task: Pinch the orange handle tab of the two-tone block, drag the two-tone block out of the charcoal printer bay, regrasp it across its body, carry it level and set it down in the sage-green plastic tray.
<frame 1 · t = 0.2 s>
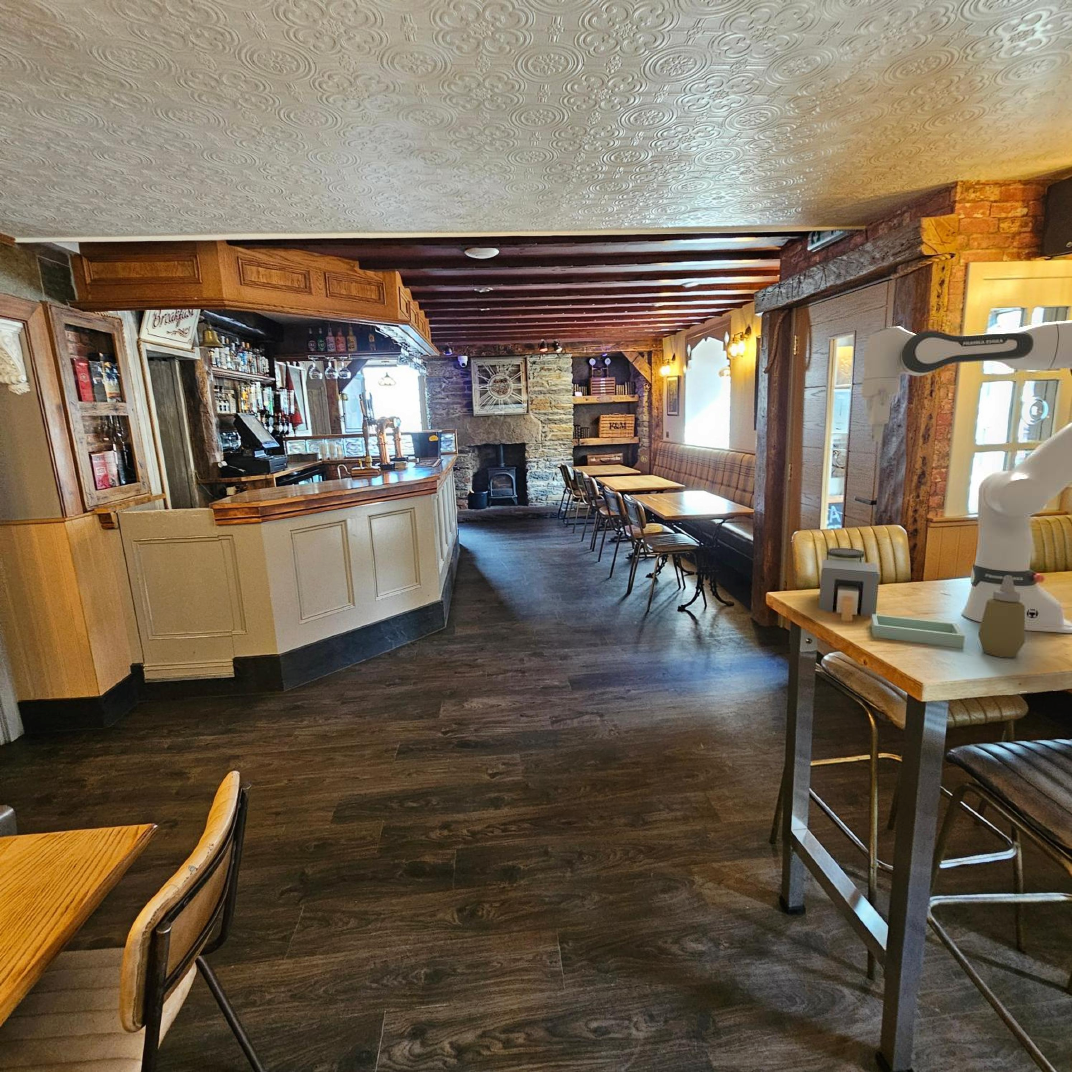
hand: (876, 441, 157), 47 cm above the table, fingers open, 8 cm apart
two-tone block: (846, 610, 160), on the table
tray: (914, 635, 139), on the table
printer bay: (846, 607, 163), on the table
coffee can: (842, 596, 176), on the table
squeeze bottle: (998, 654, 127), on the table
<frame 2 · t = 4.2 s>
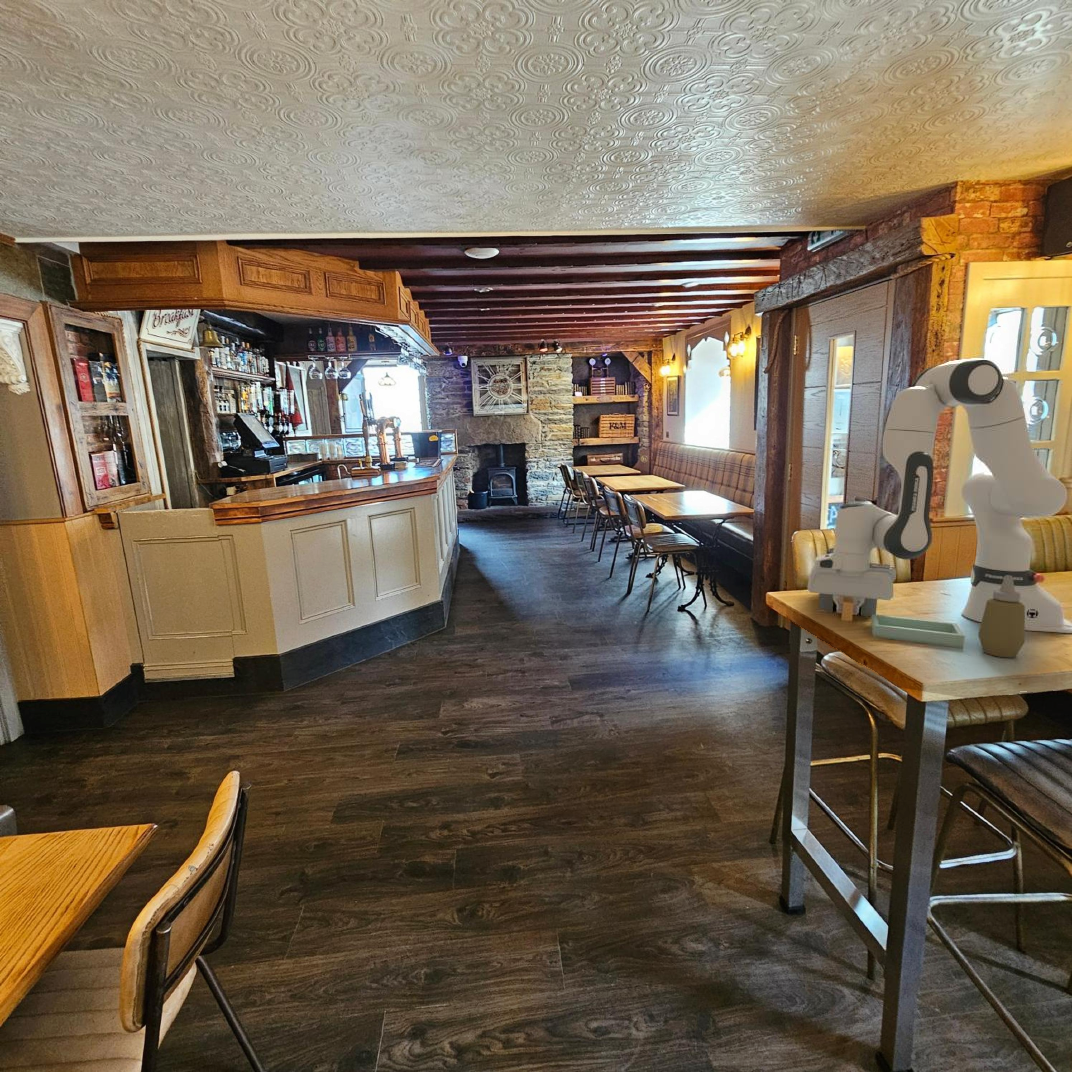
hand: (847, 611, 153), 2 cm above the table, fingers closed on two-tone block, 2 cm apart
two-tone block: (846, 610, 160), on the table, touching gripper
everything else where it was.
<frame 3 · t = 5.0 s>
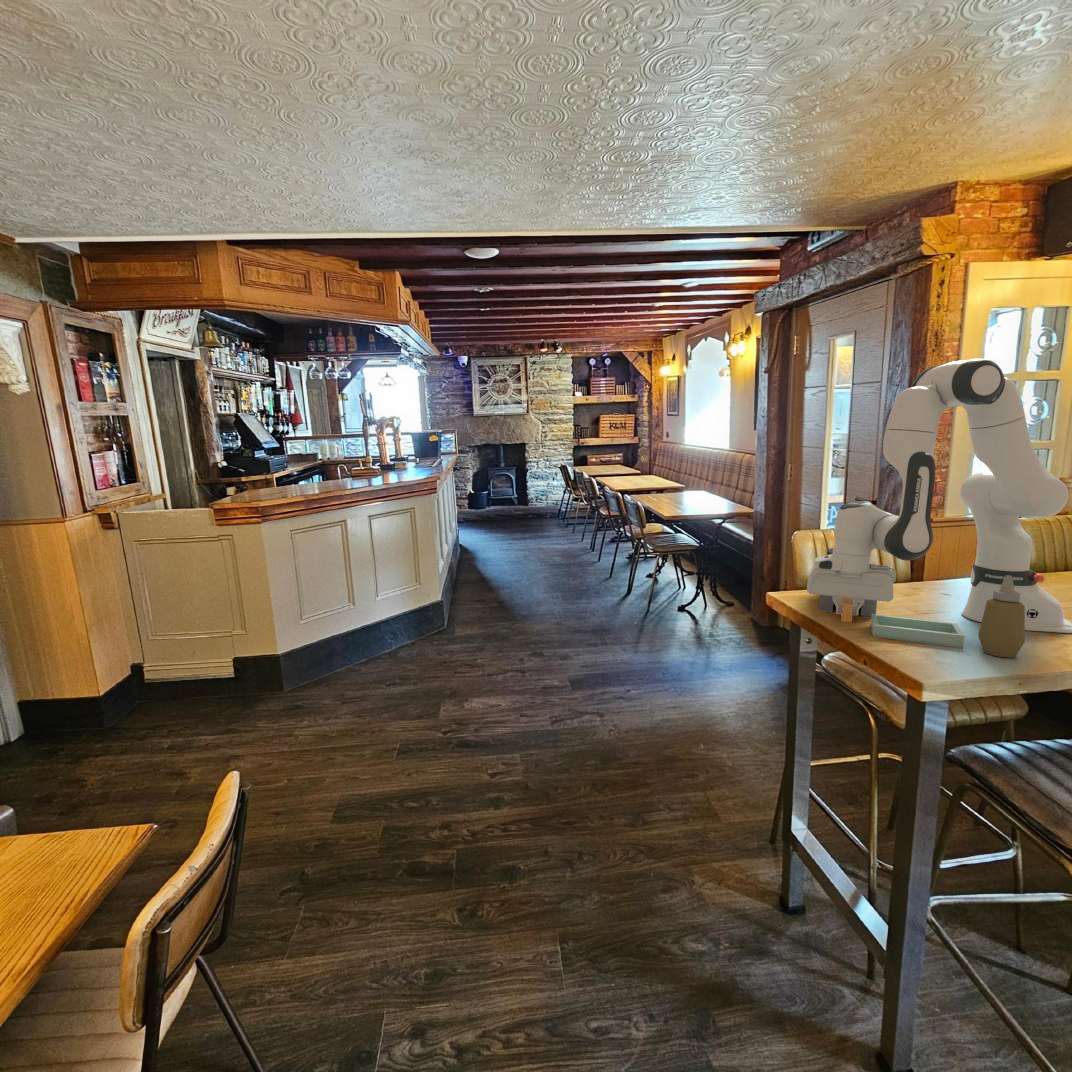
hand: (846, 613, 152), 2 cm above the table, fingers closed on two-tone block, 2 cm apart
two-tone block: (846, 611, 159), on the table, touching gripper
everything else where it was.
when the fingers open (2 cm above the table, at t = 6.7 s): two-tone block stays where it is, on the table.
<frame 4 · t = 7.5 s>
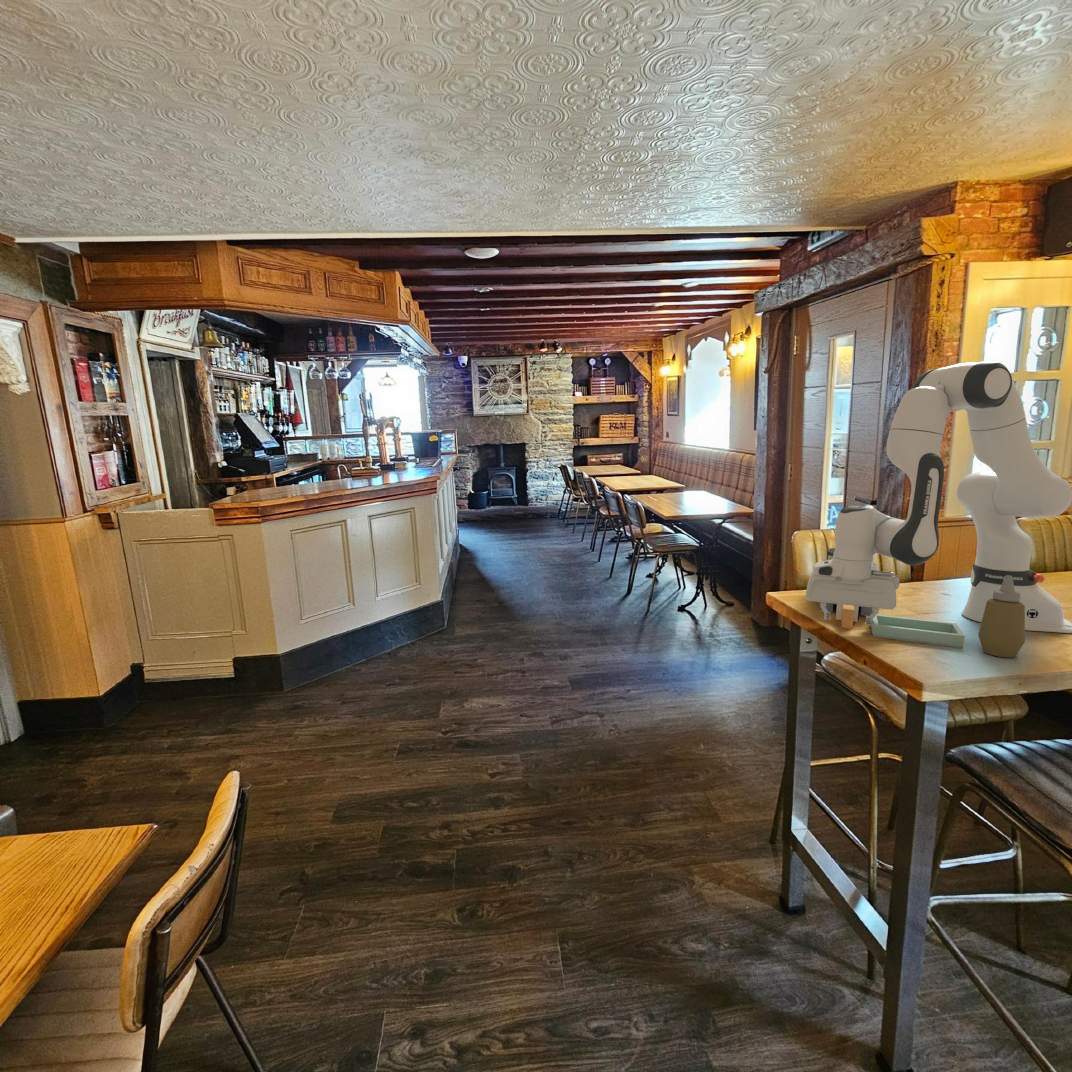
hand: (847, 621, 145), 2 cm above the table, fingers open, 8 cm apart
two-tone block: (846, 617, 154), on the table
everything else where it was.
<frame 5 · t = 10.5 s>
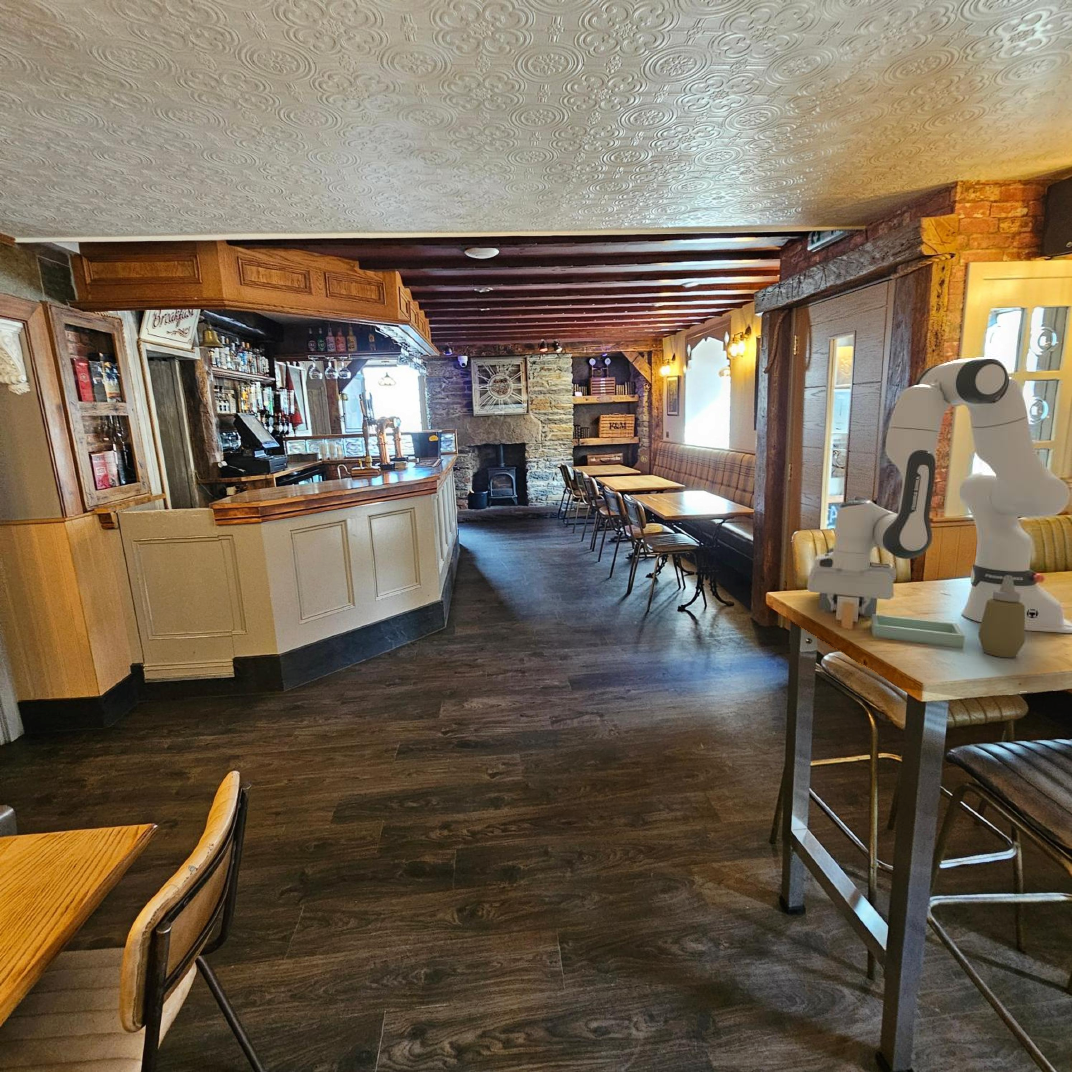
hand: (847, 611, 152), 2 cm above the table, fingers closed on two-tone block, 5 cm apart
two-tone block: (846, 617, 154), on the table, touching gripper
everything else where it was.
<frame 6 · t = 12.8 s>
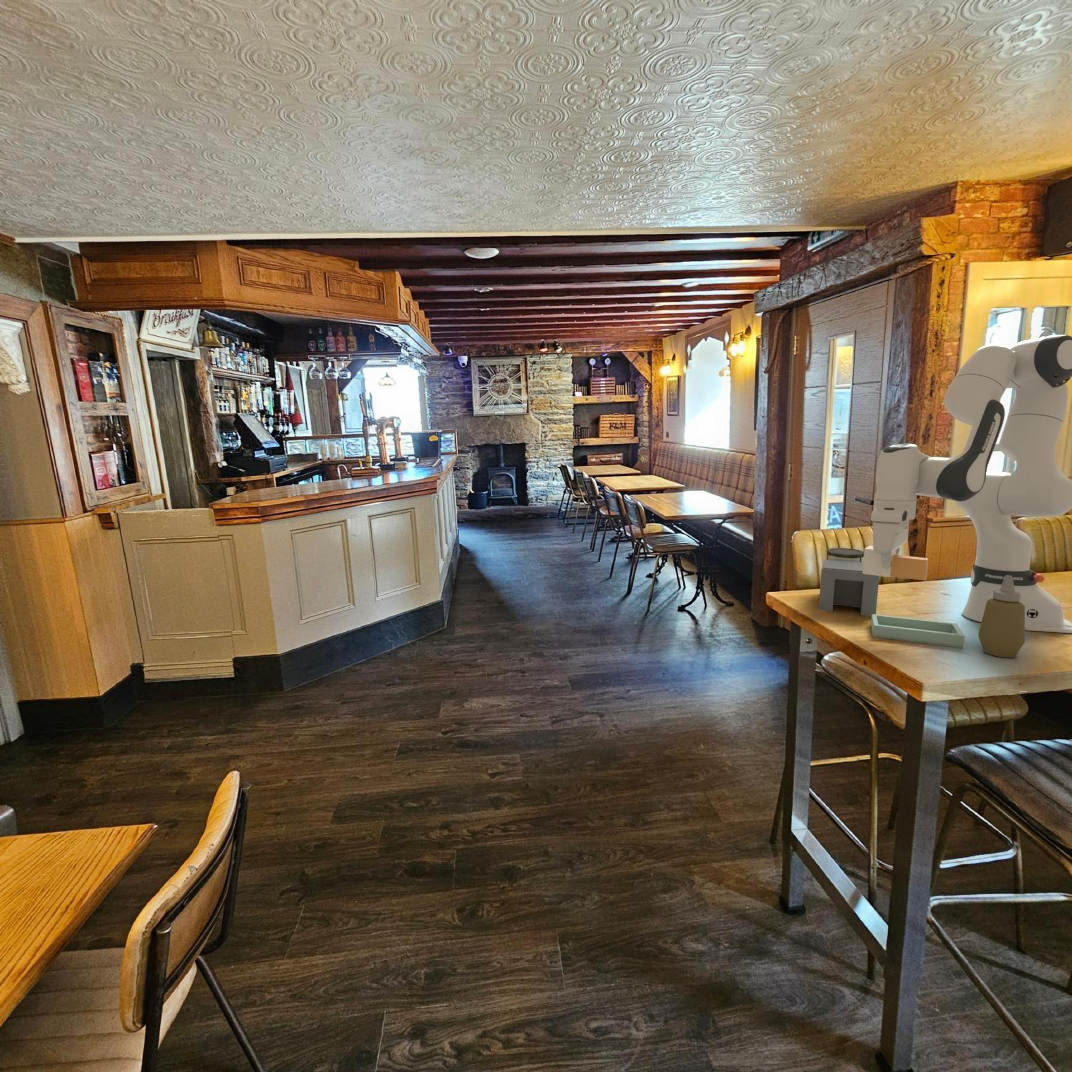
hand: (889, 565, 141), 17 cm above the table, fingers closed on two-tone block, 5 cm apart
two-tone block: (878, 573, 143), point 14 cm above the table, touching gripper
everything else where it was.
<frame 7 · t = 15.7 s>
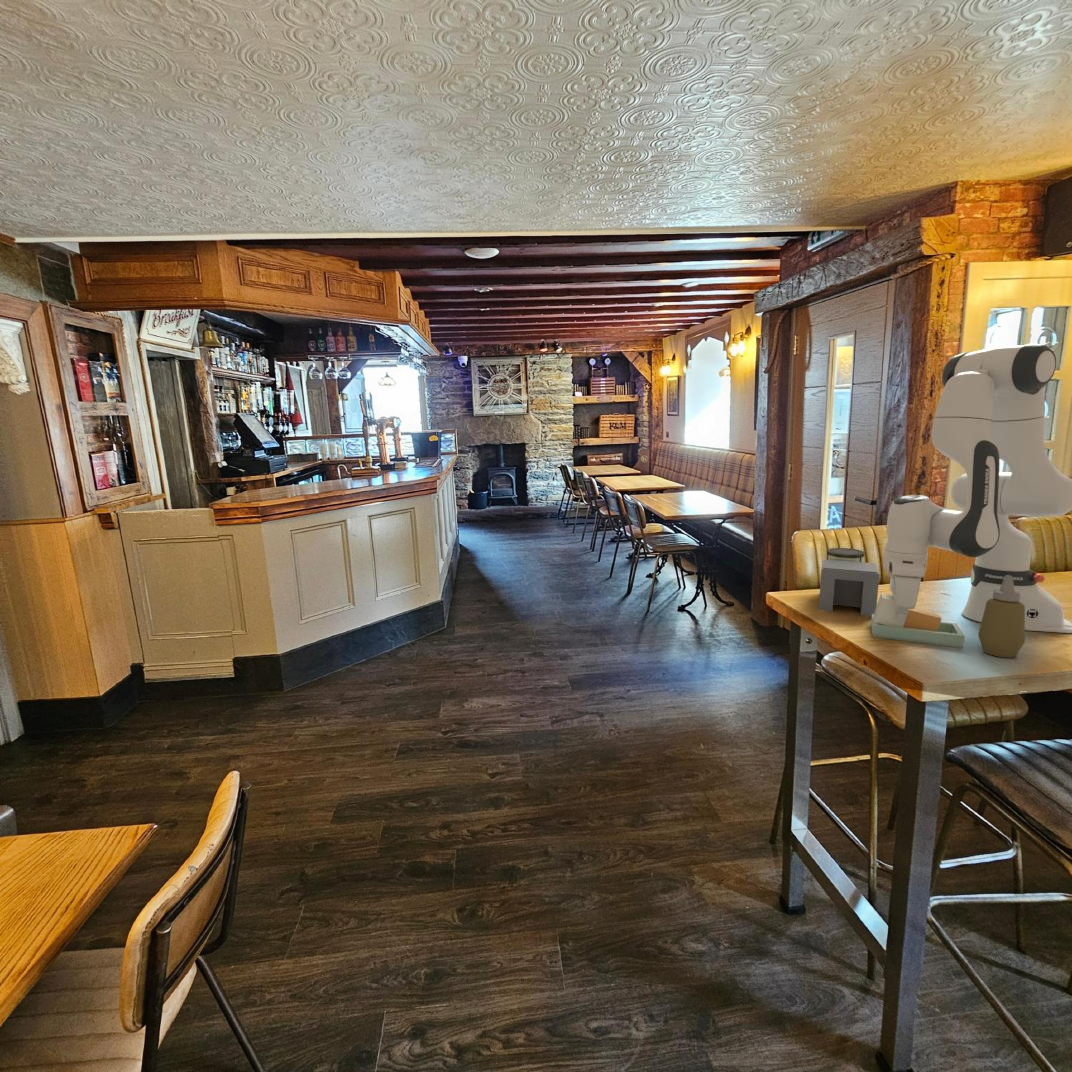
hand: (899, 616, 140), 5 cm above the table, fingers closed on two-tone block, 5 cm apart
two-tone block: (887, 622, 141), point 3 cm above the table, tilted 11°, touching gripper, tray
everything else where it was.
when the fingers open (4 cm above the table, at t = 15.9 s): two-tone block stays where it is, resting on tray.
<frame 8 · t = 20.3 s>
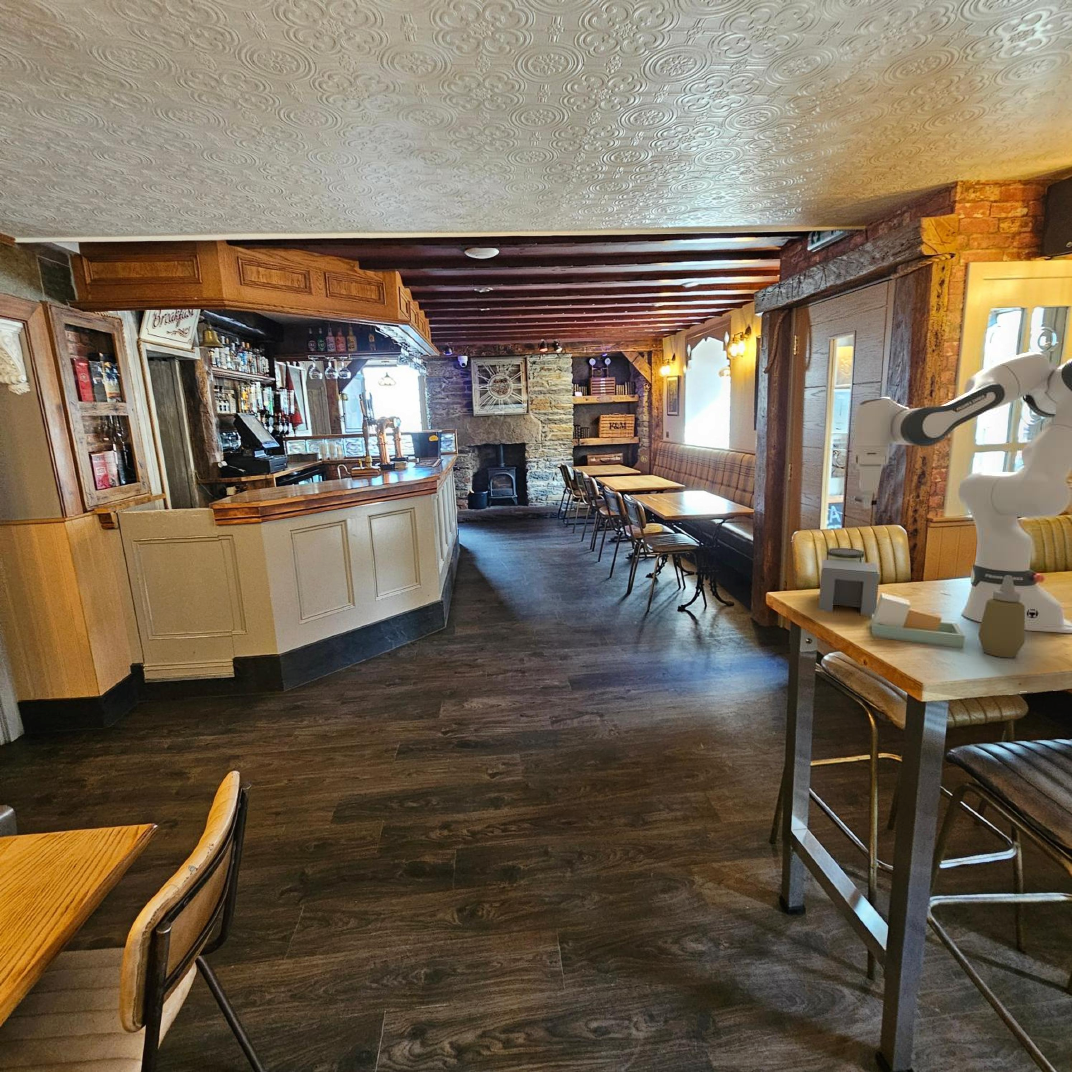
hand: (866, 506, 159), 29 cm above the table, fingers open, 8 cm apart
two-tone block: (887, 622, 141), point 3 cm above the table, tilted 11°, touching tray
everything else where it was.
at the end: two-tone block inside the target area on the tray (4.6 cm from its centre), point 2.6 cm above the tray's base; two-tone block tilted 11°; the gripper is holding nothing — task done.
